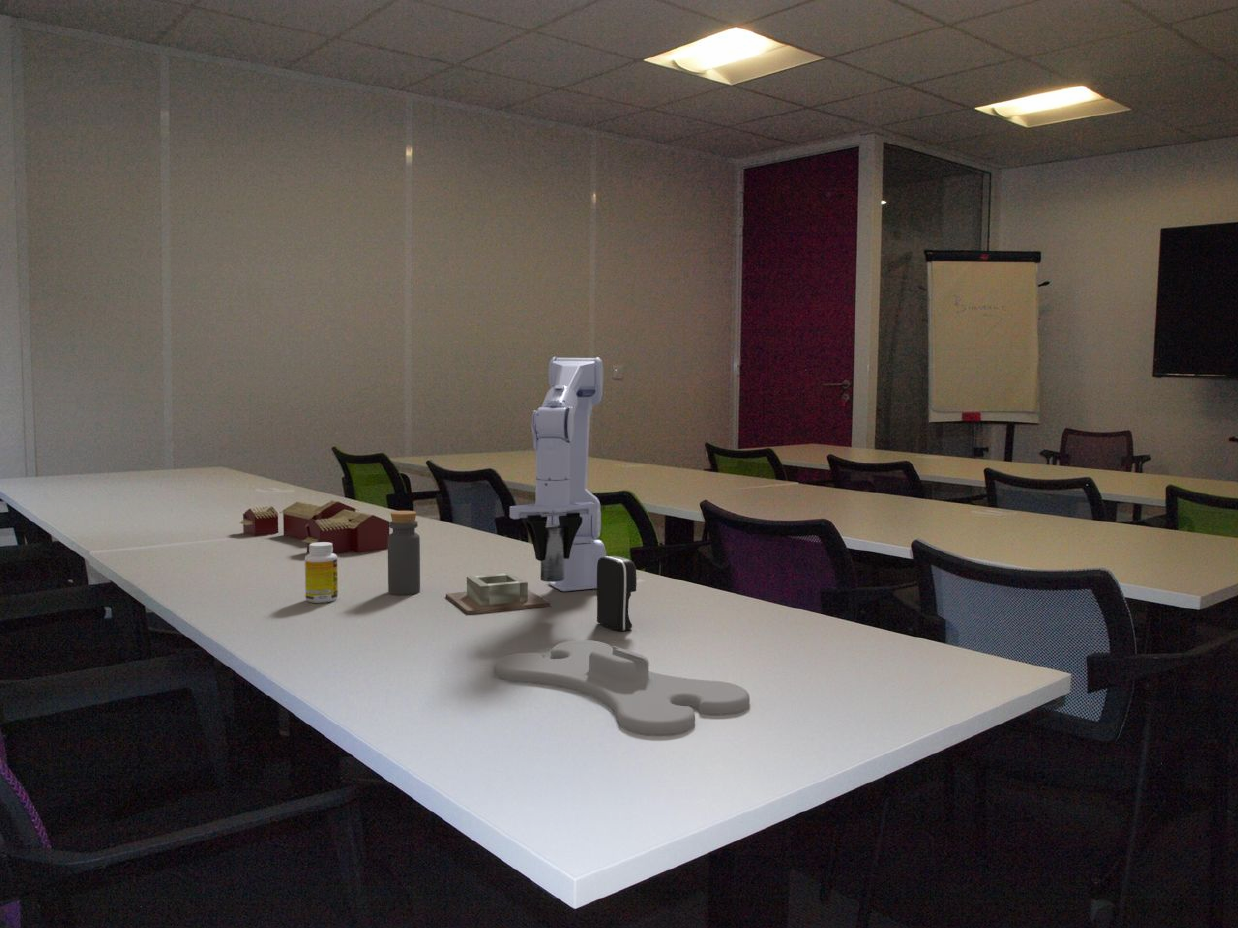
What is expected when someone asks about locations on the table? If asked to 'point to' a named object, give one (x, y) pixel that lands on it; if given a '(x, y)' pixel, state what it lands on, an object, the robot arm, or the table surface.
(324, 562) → the supplement bottle
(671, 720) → the holder
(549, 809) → the table surface
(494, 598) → the socket
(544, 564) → the peg
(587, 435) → the robot arm
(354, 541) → the toy houses
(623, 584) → the battery charger
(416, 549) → the bottle
